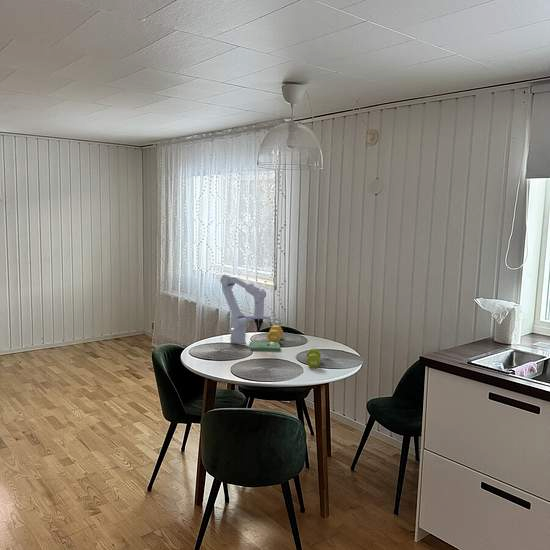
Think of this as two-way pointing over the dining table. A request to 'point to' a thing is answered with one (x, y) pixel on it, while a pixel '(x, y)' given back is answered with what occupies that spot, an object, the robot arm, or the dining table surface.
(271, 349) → the putting deck
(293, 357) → the dining table surface
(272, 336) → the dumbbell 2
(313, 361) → the green grapes
